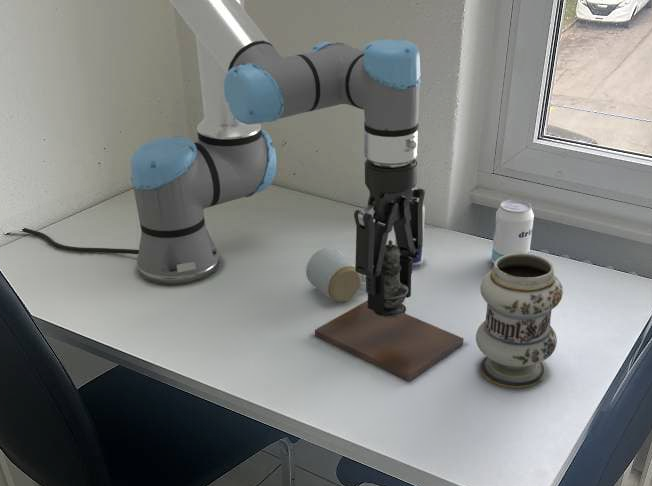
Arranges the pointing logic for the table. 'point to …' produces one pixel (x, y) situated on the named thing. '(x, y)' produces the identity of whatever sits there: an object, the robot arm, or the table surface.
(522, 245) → the beverage can
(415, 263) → the energy drink
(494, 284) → the apothecary jar
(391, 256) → the grey tapered rounded piece
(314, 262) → the ceramic mug
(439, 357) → the walnut board
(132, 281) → the table surface
